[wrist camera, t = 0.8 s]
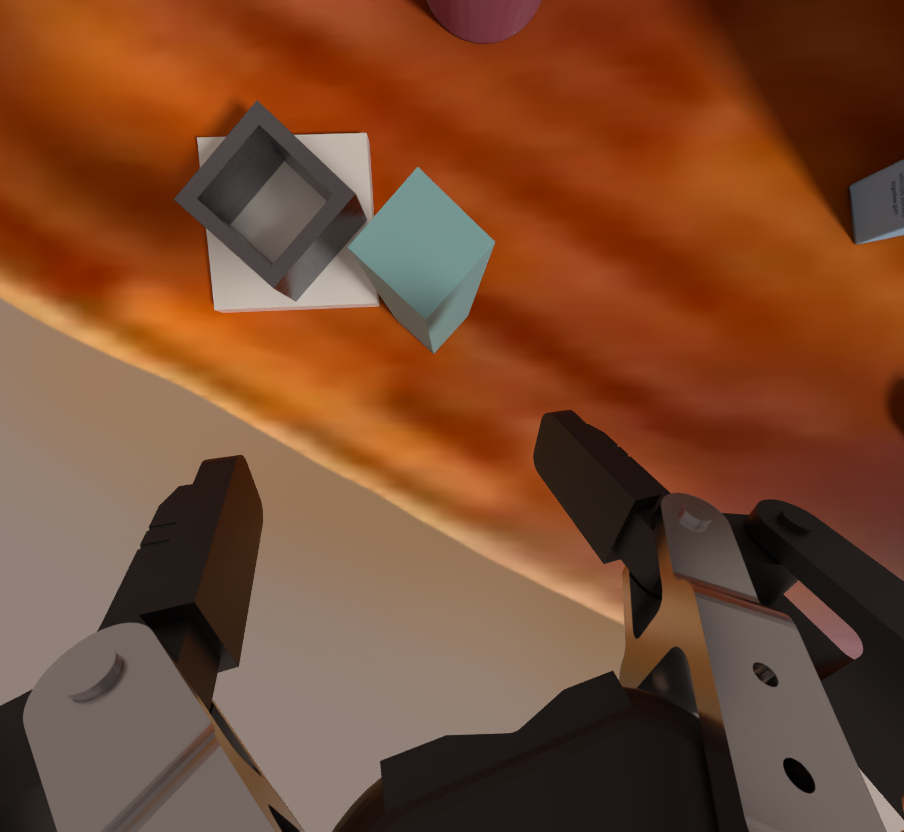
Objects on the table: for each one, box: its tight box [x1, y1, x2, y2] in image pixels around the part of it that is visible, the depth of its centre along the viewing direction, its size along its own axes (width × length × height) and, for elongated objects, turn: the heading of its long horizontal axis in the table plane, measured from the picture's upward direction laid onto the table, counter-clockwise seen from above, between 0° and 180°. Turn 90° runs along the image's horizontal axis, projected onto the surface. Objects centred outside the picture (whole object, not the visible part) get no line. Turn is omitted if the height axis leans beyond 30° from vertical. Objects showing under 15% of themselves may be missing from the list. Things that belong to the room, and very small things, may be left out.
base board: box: [197, 133, 380, 313], centre depth 26 cm, size 12×12×1 cm
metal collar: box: [174, 101, 367, 302], centre depth 24 cm, size 8×8×4 cm
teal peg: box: [348, 167, 495, 354], centre depth 20 cm, size 4×4×14 cm
